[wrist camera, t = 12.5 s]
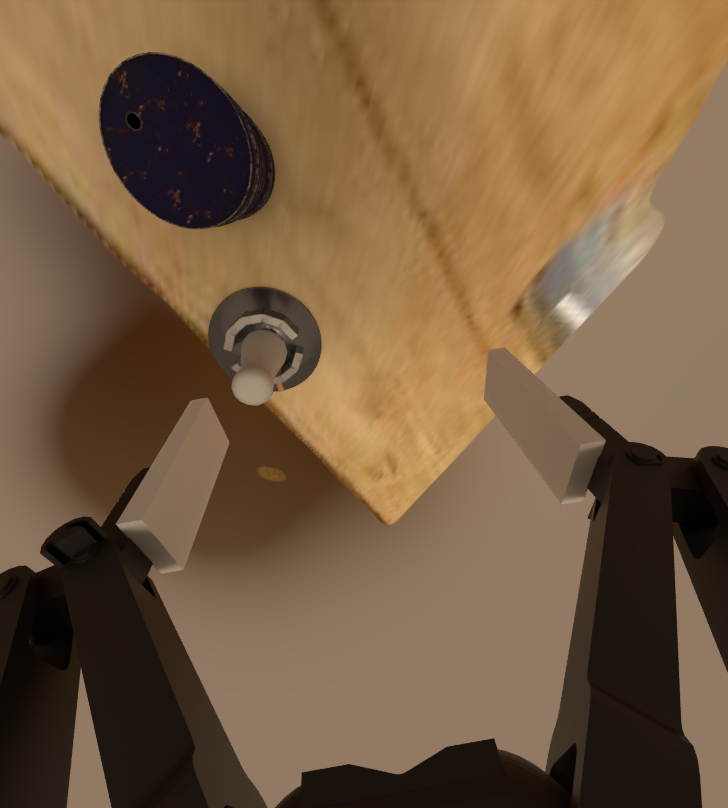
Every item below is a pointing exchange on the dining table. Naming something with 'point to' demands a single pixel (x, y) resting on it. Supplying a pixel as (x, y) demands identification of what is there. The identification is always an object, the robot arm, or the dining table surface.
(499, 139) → the dining table surface
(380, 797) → the robot arm
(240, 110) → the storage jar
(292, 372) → the socket
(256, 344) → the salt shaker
